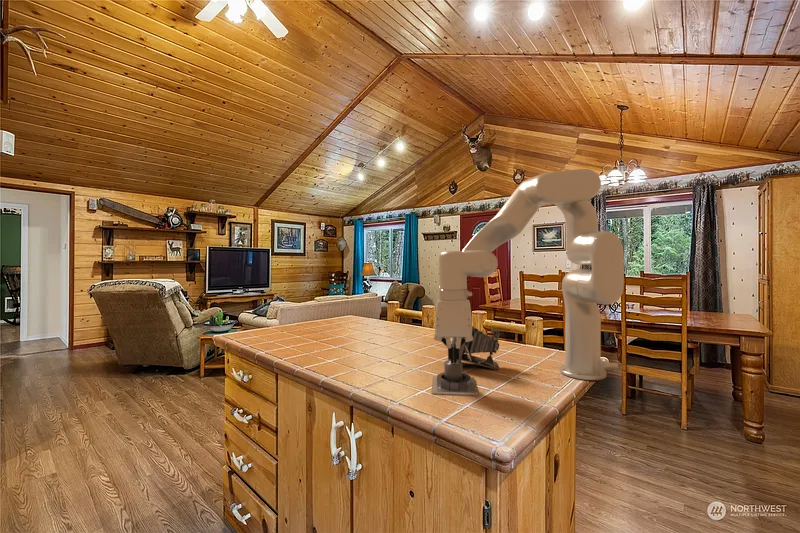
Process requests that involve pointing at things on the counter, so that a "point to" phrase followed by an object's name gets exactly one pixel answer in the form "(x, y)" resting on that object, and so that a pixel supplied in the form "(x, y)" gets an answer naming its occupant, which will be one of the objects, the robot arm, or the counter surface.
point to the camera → (479, 348)
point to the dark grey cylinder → (453, 371)
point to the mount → (454, 386)
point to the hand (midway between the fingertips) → (453, 361)
